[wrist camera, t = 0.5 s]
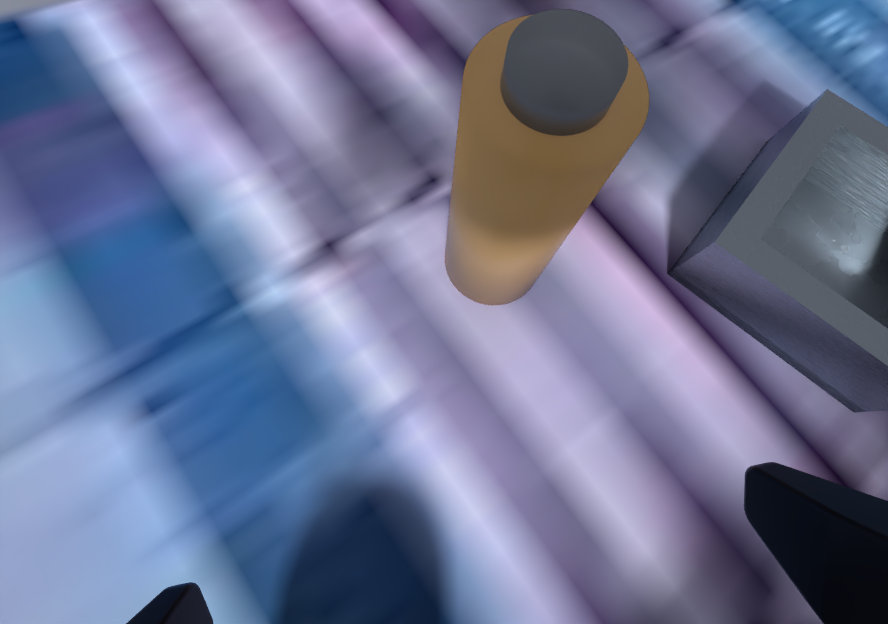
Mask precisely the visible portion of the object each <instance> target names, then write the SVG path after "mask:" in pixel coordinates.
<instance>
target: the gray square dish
mask: <svg viewBox="0 0 888 624" xmlns="http://www.w3.org/2000/svg"><path fill="white" fill-rule="evenodd" d="M668 274H669V275H670V276H671V277H673V278H674V279H675V280H677V281H678V282H679V283H681V284H682V285H683V286H685V287H686V288H687V289H689V290H690V291H692V292H693V293H694V294H696V295H697V296H698V297H700V298H701V299H702V300H704V301H705V302H706V303H708V304H709V305H710V306H712V307H713V308H714V309H716V310H717V311H718V312H720V313H721V314H723V315H724V316H725V317H727V318H728V319H729V320H731V321H732V322H733V323H735V324H736V325H737V326H739V327H740V328H741V329H743V330H744V331H745V332H747V333H748V334H749V335H751V336H752V337H754V338H755V339H756V340H758V341H759V342H760V343H762V344H763V345H764V346H766V347H767V348H768V349H770V350H771V351H772V352H774V353H775V354H776V355H778V356H779V357H780V358H782V359H783V360H785V361H786V362H787V363H789V364H790V365H791V366H793V367H794V368H795V369H797V370H798V371H799V372H801V373H802V374H803V375H805V376H806V377H807V378H809V379H810V380H811V381H813V382H814V383H816V384H817V385H818V386H820V387H821V388H822V389H824V390H825V391H826V392H828V393H829V394H830V395H832V396H833V397H834V398H836V399H837V400H838V401H840V402H841V403H842V404H844V405H845V406H846V407H848V408H849V409H851V410H852V411H853V412H867V411H885V410H888V127H886V126H885V125H883V124H882V123H880V122H878V121H877V120H875V119H874V118H872V117H871V116H869V115H867V114H866V113H864V112H863V111H861V110H859V109H858V108H856V107H855V106H853V105H851V104H850V103H848V102H847V101H845V100H844V99H842V98H840V97H839V96H837V95H836V94H834V93H832V92H831V91H829V90H828V89H827V90H826V91H825V92H823V93H822V94H821V95H820V96H819V97H818V98H817V99H815V100H814V101H813V102H812V103H811V104H810V105H808V106H807V107H806V108H805V109H804V110H803V111H802V112H800V113H799V114H798V115H797V116H796V117H795V118H793V119H792V120H791V121H790V122H789V123H788V124H787V125H785V126H784V127H783V128H782V129H781V130H780V131H778V132H777V133H776V134H775V135H774V136H773V137H772V138H770V139H769V140H768V141H767V143H766V144H765V145H764V147H763V148H762V149H761V151H760V152H759V153H758V155H757V156H756V157H755V159H754V160H753V161H752V162H751V164H750V165H749V166H748V168H747V169H746V170H745V172H744V173H743V174H742V176H741V177H740V178H739V180H738V181H737V182H736V184H735V185H734V186H733V188H732V189H731V190H730V192H729V193H728V194H727V196H726V197H725V198H724V200H723V201H722V202H721V204H720V205H719V206H718V208H717V209H716V210H715V212H714V213H713V214H712V216H711V217H710V218H709V220H708V221H707V222H706V224H705V225H704V226H703V227H702V229H701V230H700V231H699V233H698V234H697V235H696V237H695V238H694V239H693V241H692V242H691V243H690V245H689V246H688V247H687V249H686V250H685V251H684V253H683V254H682V255H681V257H680V258H679V259H678V261H677V262H676V263H675V265H674V266H673V267H672V269H671V270H670V271H669V273H668Z"/></svg>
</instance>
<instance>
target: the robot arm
mask: <svg viewBox="0 0 888 624" xmlns="http://www.w3.org/2000/svg"><path fill="white" fill-rule="evenodd" d="M744 510H745V514H746V516H747V519H748V521H749V522H750V524H751V526H752V527H753V528H754V530H755V531H756V532H757V534H758V535H759V537H760V538H761V539H762V541H763V542H764V543H765V545H766V546H767V548H768V549H769V550H770V552H771V553H772V554H773V556H774V557H775V559H776V560H777V561H778V563H779V564H780V565H781V567H782V568H783V570H784V571H785V572H786V574H787V575H788V577H789V578H790V579H791V581H792V582H793V583H794V585H795V586H796V588H797V589H798V590H799V592H800V593H801V594H802V596H803V597H804V599H805V600H806V601H807V603H808V604H809V605H810V607H811V608H812V609H813V610H814V612H815V613H816V614H817V616H818V617H819V618H820V620H821V621H822V622H823V623H824V624H888V501H886V500H883V499H880V498H877V497H874V496H871V495H868V494H865V493H863V492H860V491H857V490H854V489H851V488H848V487H845V486H842V485H839V484H836V483H833V482H831V481H828V480H825V479H822V478H819V477H816V476H813V475H810V474H807V473H804V472H801V471H799V470H796V469H793V468H790V467H787V466H784V465H781V464H778V463H774V462H768V463H763V464H759V465H754V466H750V467H749V468H748V469H747V470H746V472H745V490H744ZM126 624H213V620H212V617H211V614H210V612H209V609H208V607H207V605H206V602H205V600H204V597H203V595H202V592H201V590H200V588H199V586H198V585H197V584H195V583H191V582H190V583H185V584H180V585H175V586H171V587H168V588H166V589H164V590H163V591H162V592H161V593H160V594H159V595H157V596H156V597H155V598H154V599H153V600H152V601H151V602H150V603H149V604H147V605H146V606H145V607H144V608H143V609H142V610H141V611H140V612H139V613H137V614H136V615H135V616H134V617H133V618H132V619H131V620H130V621H129V622H127V623H126Z"/></svg>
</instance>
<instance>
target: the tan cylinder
mask: <svg viewBox="0 0 888 624" xmlns="http://www.w3.org/2000/svg"><path fill="white" fill-rule="evenodd" d="M648 108H649V91H648V85H647V81H646V78H645V75H644V73H643V71H642V69H641V67H640V64H639V63H638V61H637V60H636V58H635V57H634V55H633V54H632V53H631V52H630V51H629V49H628V48H627V47H626V46H625V45H624V44H623V42H622V41H621V39H620V38H619V36H618V35H617V34H616V33H615V32H614V30H612V29H611V28H610V27H609V26H608V25H607V24H605V23H604V22H603V21H601V20H599V19H598V18H596V17H594V16H592V15H589V14H587V13H584V12H580V11H576V10H570V9H551V10H546V11H542V12H539V13H536V14H534V15H528V16H523V17H519V18H516V19H513V20H510V21H508V22H505V23H503V24H501V25H499V26H498V27H496V28H494V29H493V30H491V31H490V32H489V33H487V34H486V35H485V36H484V37H483V38H482V39H481V40H480V41H479V42H478V43H477V44H476V46H475V47H474V49H473V50H472V52H471V53H470V55H469V58H468V60H467V62H466V65H465V69H464V74H463V82H462V92H461V101H460V111H459V121H458V131H457V141H456V151H455V161H454V171H453V181H452V191H451V201H450V211H449V220H448V230H447V240H446V250H445V266H446V270H447V274H448V276H449V278H450V280H451V282H452V283H453V285H454V286H455V287H456V288H457V290H458V291H460V292H461V293H462V294H463V295H464V296H466V297H467V298H469V299H471V300H473V301H475V302H478V303H482V304H486V305H502V304H507V303H510V302H513V301H515V300H517V299H519V298H521V297H522V296H523V295H525V294H526V293H527V292H528V291H529V290H530V289H531V287H532V286H533V284H534V283H535V282H536V280H537V279H538V277H539V276H540V274H541V273H542V272H543V270H544V269H545V267H546V266H547V264H548V263H549V262H550V260H551V259H552V257H553V256H554V255H555V253H556V252H557V250H558V249H559V247H560V246H561V245H562V243H563V242H564V240H565V239H566V237H567V236H568V235H569V233H570V232H571V230H572V229H573V227H574V226H575V225H576V223H577V222H578V220H579V219H580V218H581V216H582V215H583V213H584V212H585V210H586V209H587V208H588V206H589V205H590V203H591V202H592V200H593V199H594V198H595V196H596V195H597V193H598V192H599V190H600V189H601V188H602V186H603V185H604V183H605V182H606V181H607V179H608V178H609V176H610V175H611V173H612V172H613V171H614V169H615V168H616V166H617V165H618V163H619V162H620V161H621V159H622V158H623V156H624V155H625V153H626V152H627V151H628V149H629V148H630V146H631V145H632V144H633V142H634V141H635V139H636V138H637V136H638V135H639V134H640V132H641V130H642V128H643V126H644V124H645V121H646V118H647V115H648Z"/></svg>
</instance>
